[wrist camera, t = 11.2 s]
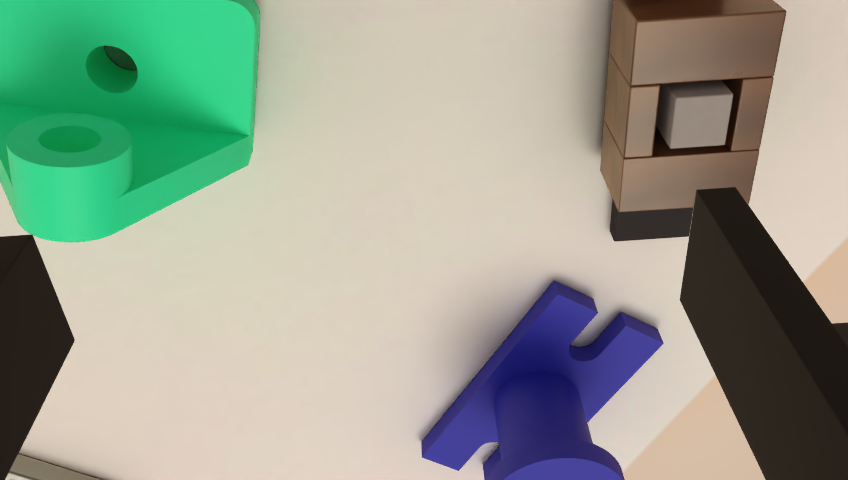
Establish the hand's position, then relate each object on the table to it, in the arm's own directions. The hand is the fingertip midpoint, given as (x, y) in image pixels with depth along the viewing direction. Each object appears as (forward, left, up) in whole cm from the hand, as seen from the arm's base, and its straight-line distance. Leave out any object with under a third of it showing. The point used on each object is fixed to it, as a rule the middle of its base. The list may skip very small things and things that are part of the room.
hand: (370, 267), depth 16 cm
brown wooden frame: (+6, +13, -22) cm, 26 cm away
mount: (+26, +7, -23) cm, 36 cm away
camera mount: (+3, -12, -23) cm, 26 cm away
